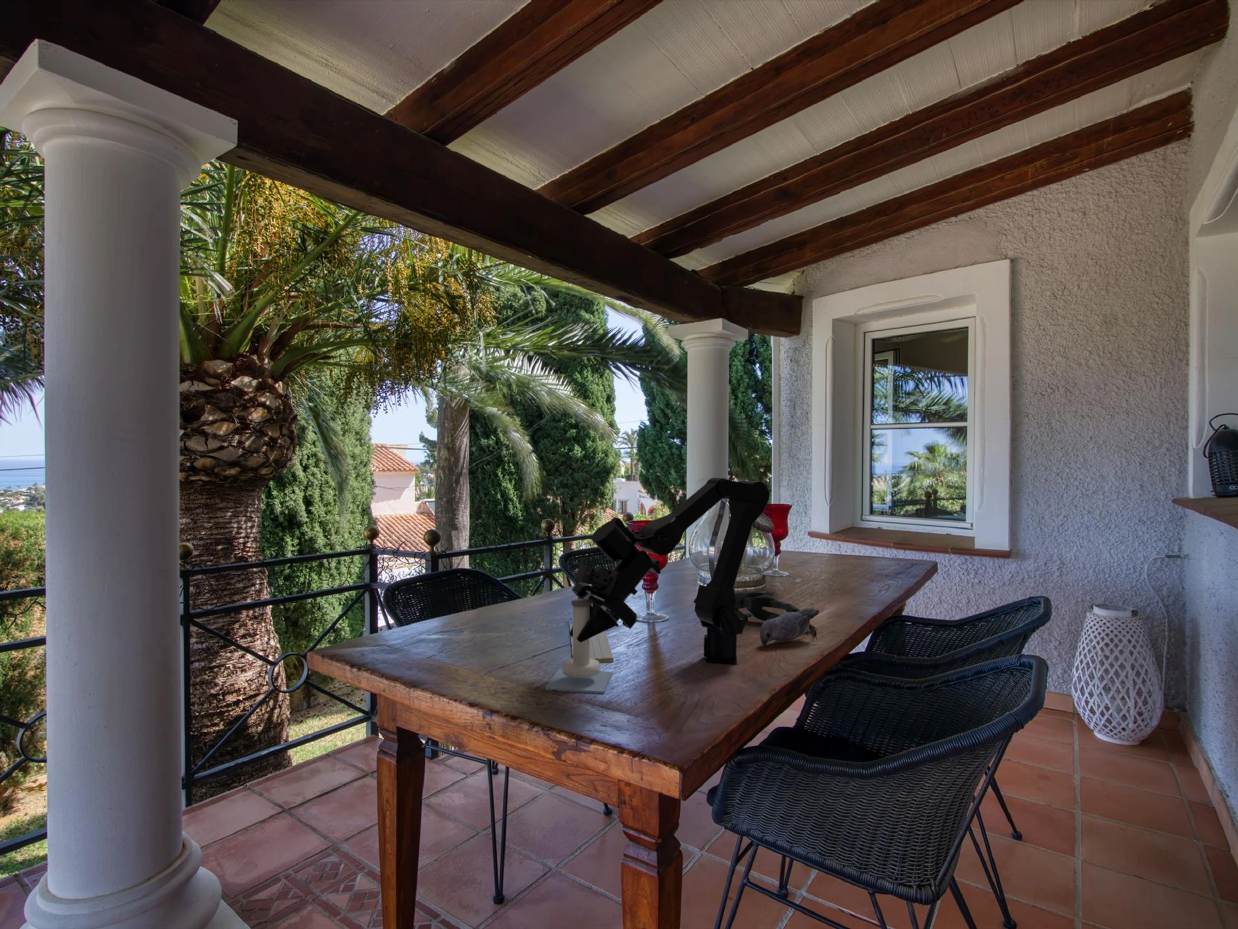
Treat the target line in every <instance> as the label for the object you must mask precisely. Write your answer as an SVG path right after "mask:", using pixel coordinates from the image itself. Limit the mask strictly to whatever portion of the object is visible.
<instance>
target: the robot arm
mask: <svg viewBox="0 0 1238 929" xmlns="http://www.w3.org/2000/svg"><path fill="white" fill-rule="evenodd" d="M770 496H771V493H770V490H769V488H768V486H767V485H766V483H764V482H763V481H757V480H745V479H744V480H743V479H742V480H737V481H735V480H731V479H727V478H726V477H725V478H724V477H711V478H709V479H708V480H707V481H706V482H705V484H704V485H703V486H701V487H700V488H699V489H697V491H695V492H694V493H693V494H692V495H690V496H689V497H688V498H687V499H686V500H685V501H684V502H682V503H681V504H679V505H678V507H675V508H674V510H672V511H671V512H670V513H669V514H666V515H665V516H661V517H659V518H656V519H654V520H652V521H650V522H649V523H646V524H645V525H643V526H642V527H641V528H640V529H639V530H637V531H631V530H630V529H629V528H628V527H627V526H626V525H625V523H624V522H623V521H622V519H621V518H619V517H614V516H613V517H612V518H611V520H609V521H607V522H605V523H604V524H602V525H601V526H598V528H597V529H596V530H595V531H594V533H593V534H592V537H591V541H592V542H593V544H595V545H596V546H597V547H598V549H599V550H601V552H602V553H603V554H604V555H606V557H607V558H608V559H609V560H610V561H618V563H617V564H616V566H614V568H613V569H611V568H606V567H604V566H601V565H598V566H596V568H593V567H591V566H588V565H585V564H582V563H580V565H579V566H578V569H577V570H576V573H575V576H574V580H577V581H579V582H577V583H576V584H575V585H574V586H573V587H572V589H571V591H572V593H573V594H574V595H575V596H576V597H577V599H588V600H591V605H590V619H589V620H588V622H587V623H586V625H585V626H584V627H583V629H582V630H581V632H580V634H579V635H578V637H577V640H578V641H579V642H583V641H585V640H587V639H589V638H591V637H593V636H595V635H597V634H599V633H602V632H604V631H606V632H607V631H609V630H610V629H612V628H619V626H620V625H619V623H618V622H619V620H620V621H621V622H622V623H621V625H623V626H624V627H626V628H627V629H630V630H631V629H632V628H633V627H634V626H635V625H636V623H637V620H638V615H637V613H636V612H635V611H634V610H633V609H632V608H631V606H629V605H628V604H627V603H626V602H625V601H626V600H627V599H628V598H629V596H630V595H633V596H635V595H636V594H637V593H638V590H637V589H636V587H637V586H638V585H639V584H640V583H641V582H642V580H644V578H645V577H646V575H647V574H648V573H649V572H650V573H653V574H657V575H661V573H662V572H661V566H660V563H661V561H660V559H656V558H652V557H651V556H650V555H649V554H648V553H650V554H653V555H658V556H667V555H669V554H671V553H672V552H673V551H674V549H675V548H676V547H677V546H678V545H679V544H680V542H681V541H682V538H683V535H684V533H685V532H686V531H687V530H688V528H690V527H691V526H692V525H693V524H694V523H695V522H697V521H698V520H699V519H700V518H702V516H704V515H705V514H706V513H707V512H708V511H710V510H711V509H712V508H713V507H715V505H718V503H719V502H720V501H722V500H723V499H727V500H728V507H729V512H730V513H729V514H730V518H729V522H728V526H727V528H726V532H725V535H724V539H723V541H722V545H721V549H720V551H719V553H718V557H717V562H716V565H715V568H714V571H713V573H712V578H711V580H710V581H709V582H708V583H707V584H706V585H703V584H700V585H699V586H698V588H697V594H696V597H695V599H694V600H693V603H694V613H695V615H696V617H697V618H698V619H699V622H700V625H701V627H703V628H706V634H703V657H704V658H705V662H707V663H719V664H720V663H721V664H722V663H723V664H738V656H737V645H738V644H737V641H738V640H737V639H738V635H742V634H743V632H744V629H745V622H744V620H743V619H741V618H739V617H738V616H737V615H736V614H735V607H736V597H735V592H734V591H735V584H736V580H737V578H738V574H739V570H740V568H741V565H742V561H743V557H744V554H745V551H746V548H747V544H748V541H749V537H750V535H751V531H752V528H753V525H754V523H755V522H756V521H757V519H759V518H760V517H761V515H762V514H763V513H764V511H765V509H766V507H767V505H768V503H769V500H770V498H771V497H770ZM636 546H638V547H639V548H640V549H641V550H639V548H637V547H636ZM568 635H569V636H570V638H571V637H573V626H572V629H571V631H570V630H569V634H568Z"/></svg>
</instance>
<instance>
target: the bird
mask: <svg viewBox="0 0 1238 929" xmlns="http://www.w3.org/2000/svg"><path fill="white" fill-rule="evenodd" d="M799 610H800V611H797V612H789V613H788V612H785V613H784V614H780V616H779V617H776V618H773V619H769V620H767V621H763V623H762V625H761V627H760V629H759V639H760V641H761V645H762V646H763V647H765V646H766V645H767V644H768V643H769V642H771V641H776V642H777V643H778V642H779V643H787V642H792V641H793V640H796V639H798V638H800V637H802V636H805V635H806V636H807V637H809V635H808V632H809V633H811V634H812V635H810V638H812V640H814V638H815V639H816V640H818V638H817V629H818V628H816V627H815V631H811V630H810V629H809V626H810V624H811V623H810V622H811V619H810V615H811V614H813V613H814V612H815V611H816V610H817V609H815V607H812V606H811V607H806V608H802V609H799Z"/></svg>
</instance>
